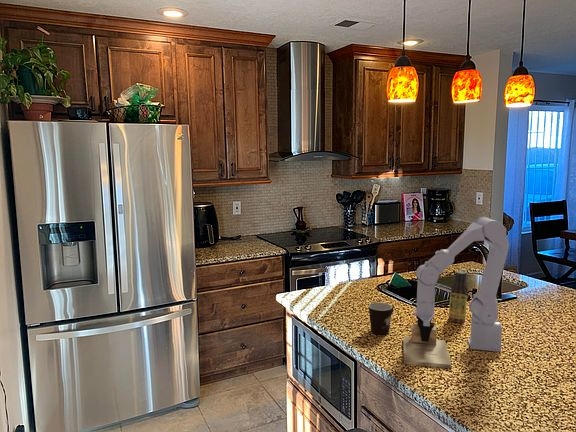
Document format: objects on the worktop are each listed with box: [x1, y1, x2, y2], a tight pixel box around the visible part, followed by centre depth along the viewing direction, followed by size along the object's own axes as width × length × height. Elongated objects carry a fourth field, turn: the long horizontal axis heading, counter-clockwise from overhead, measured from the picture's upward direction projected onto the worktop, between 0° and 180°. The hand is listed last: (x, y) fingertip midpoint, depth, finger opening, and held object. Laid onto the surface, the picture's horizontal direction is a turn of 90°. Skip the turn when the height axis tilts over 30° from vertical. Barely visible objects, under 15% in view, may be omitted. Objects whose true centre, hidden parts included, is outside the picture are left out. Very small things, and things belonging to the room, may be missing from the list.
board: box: [402, 336, 452, 369], centre depth 142 cm, size 14×18×1 cm
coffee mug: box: [368, 301, 395, 337], centre depth 159 cm, size 12×9×10 cm
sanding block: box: [411, 323, 438, 346], centre depth 147 cm, size 8×4×6 cm, turn 76°
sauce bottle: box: [448, 270, 468, 324], centre depth 168 cm, size 6×6×20 cm
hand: (424, 338), depth 147 cm, fingers open, 4 cm apart
